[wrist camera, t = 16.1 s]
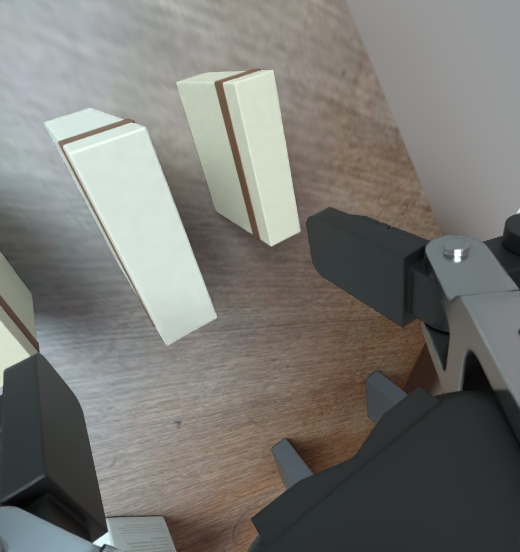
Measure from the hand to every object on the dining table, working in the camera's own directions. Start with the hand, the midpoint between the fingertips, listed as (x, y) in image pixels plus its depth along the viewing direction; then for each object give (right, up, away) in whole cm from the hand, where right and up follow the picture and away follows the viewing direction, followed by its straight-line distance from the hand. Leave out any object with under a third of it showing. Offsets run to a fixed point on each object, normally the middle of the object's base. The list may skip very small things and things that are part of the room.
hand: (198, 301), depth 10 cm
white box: (-7, +6, +10) cm, 14 cm away
